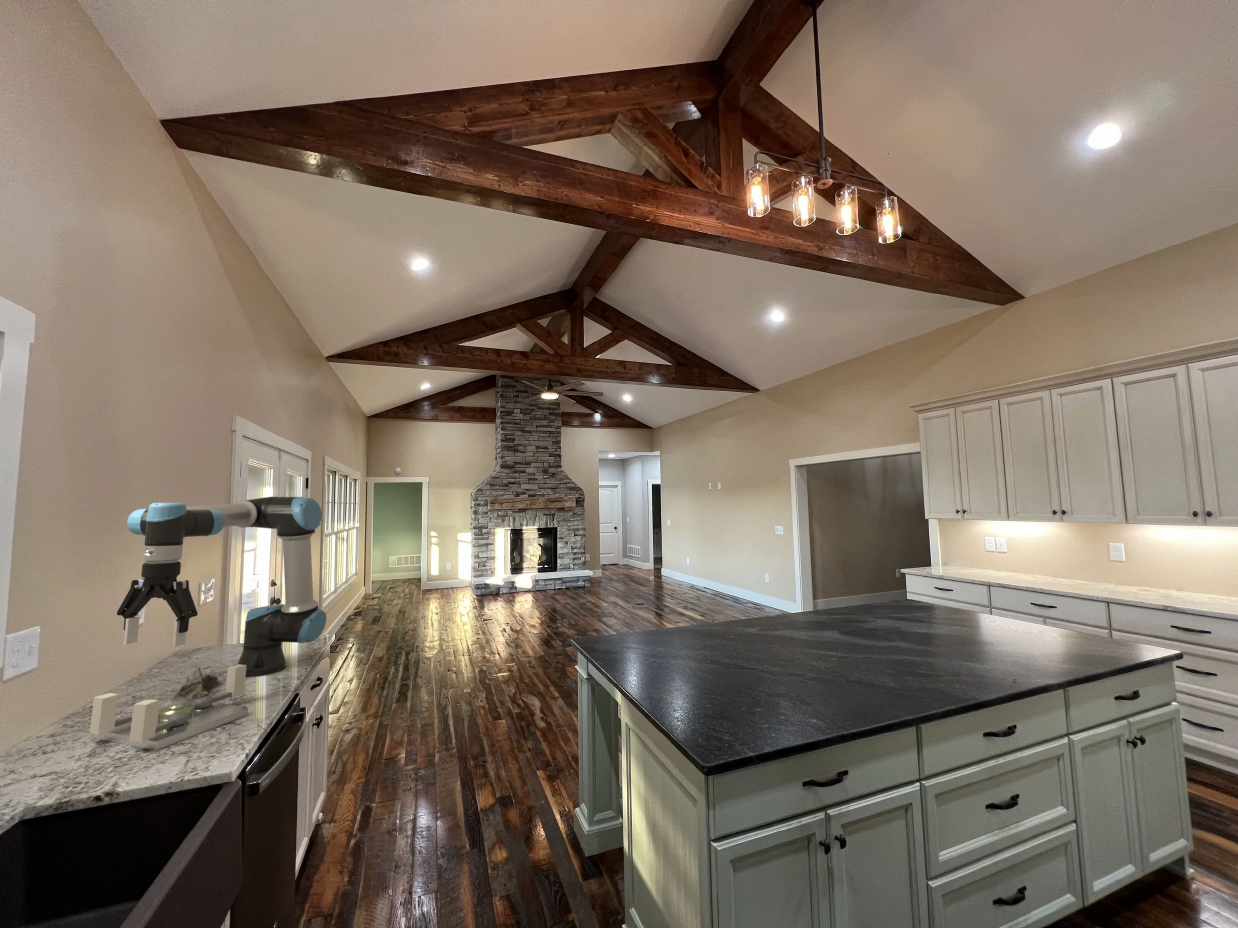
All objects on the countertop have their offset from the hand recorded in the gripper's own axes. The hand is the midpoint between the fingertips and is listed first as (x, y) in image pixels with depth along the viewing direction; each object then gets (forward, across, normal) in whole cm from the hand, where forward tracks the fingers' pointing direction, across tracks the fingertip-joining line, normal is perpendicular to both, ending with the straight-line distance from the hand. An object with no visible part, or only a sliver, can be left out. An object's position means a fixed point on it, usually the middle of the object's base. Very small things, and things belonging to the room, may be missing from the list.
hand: (154, 644), depth 128 cm
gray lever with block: (+22, +1, +20) cm, 30 cm away
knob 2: (+21, +4, 0) cm, 22 cm away
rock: (+25, -17, +32) cm, 44 cm away
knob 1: (+21, -9, +3) cm, 23 cm away
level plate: (+24, -1, +9) cm, 26 cm away
